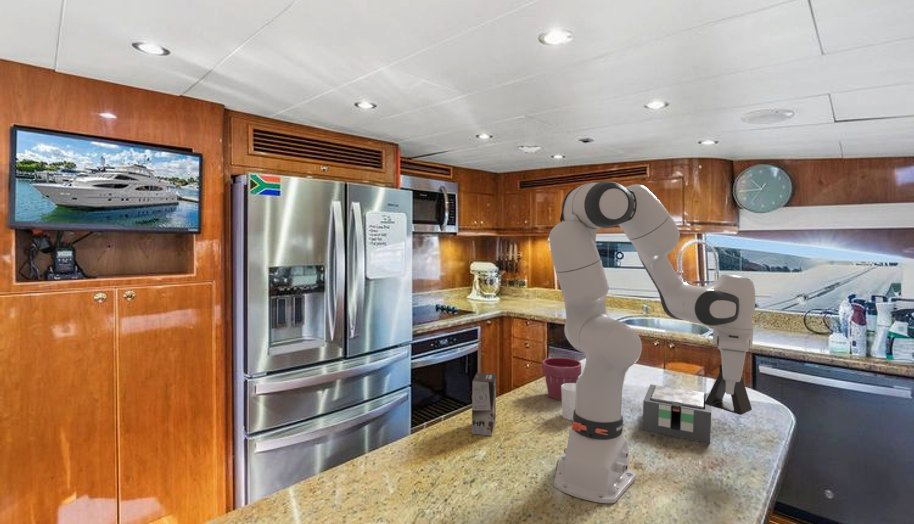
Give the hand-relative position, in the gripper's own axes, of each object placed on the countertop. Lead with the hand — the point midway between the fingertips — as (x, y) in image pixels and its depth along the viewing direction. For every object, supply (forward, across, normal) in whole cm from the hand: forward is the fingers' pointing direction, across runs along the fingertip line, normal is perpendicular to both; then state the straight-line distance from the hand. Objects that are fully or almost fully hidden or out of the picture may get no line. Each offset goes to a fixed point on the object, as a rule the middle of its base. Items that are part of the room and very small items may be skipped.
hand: (728, 389), depth 118 cm
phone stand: (+5, 0, 0) cm, 5 cm away
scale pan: (+11, -17, -12) cm, 23 cm away
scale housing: (+19, -19, -12) cm, 29 cm away
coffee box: (+21, +14, -63) cm, 68 cm away
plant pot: (+20, -26, -51) cm, 61 cm away
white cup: (+20, -9, -42) cm, 48 cm away
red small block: (+11, -10, -12) cm, 19 cm away
